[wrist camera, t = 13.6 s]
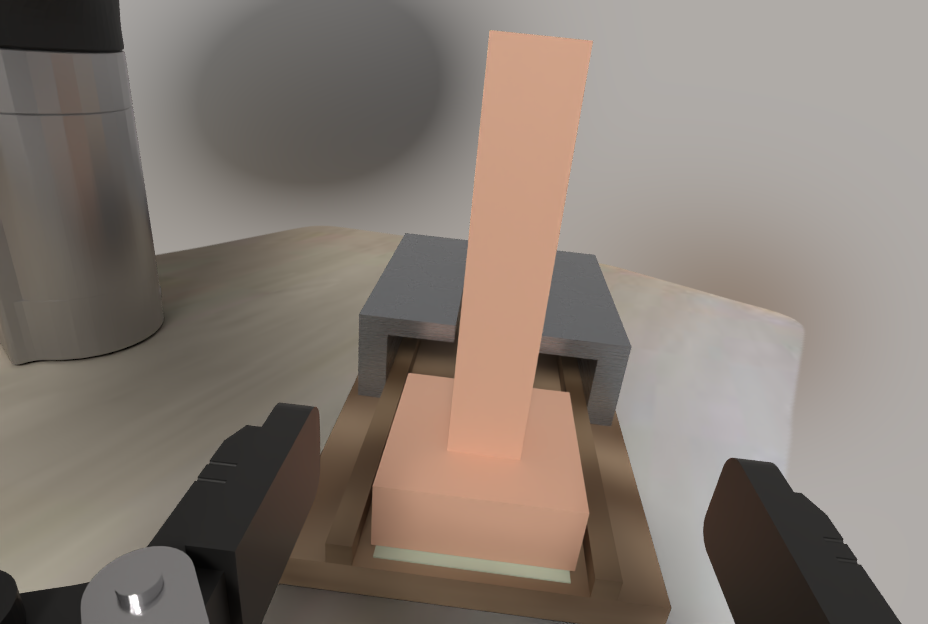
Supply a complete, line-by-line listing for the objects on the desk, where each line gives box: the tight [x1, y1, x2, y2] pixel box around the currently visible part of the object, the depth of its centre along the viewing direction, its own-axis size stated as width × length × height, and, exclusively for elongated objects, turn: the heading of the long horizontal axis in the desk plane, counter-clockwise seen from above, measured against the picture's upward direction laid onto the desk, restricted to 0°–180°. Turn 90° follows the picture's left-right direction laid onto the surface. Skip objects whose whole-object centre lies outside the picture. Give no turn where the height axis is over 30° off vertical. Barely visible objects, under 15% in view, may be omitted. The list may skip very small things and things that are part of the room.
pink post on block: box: [371, 30, 593, 571], centre depth 22 cm, size 8×8×18 cm
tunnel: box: [358, 233, 631, 426], centre depth 36 cm, size 14×14×5 cm
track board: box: [279, 304, 671, 624], centre depth 38 cm, size 36×15×2 cm, turn 175°
